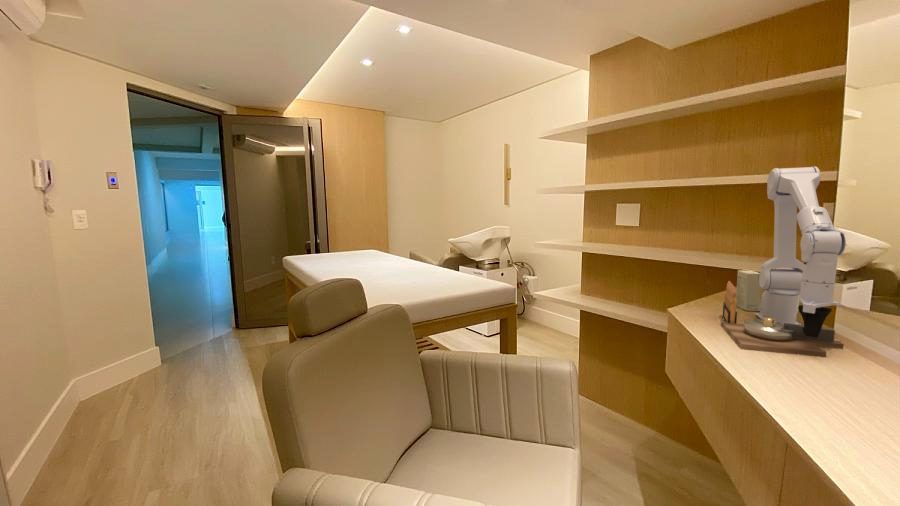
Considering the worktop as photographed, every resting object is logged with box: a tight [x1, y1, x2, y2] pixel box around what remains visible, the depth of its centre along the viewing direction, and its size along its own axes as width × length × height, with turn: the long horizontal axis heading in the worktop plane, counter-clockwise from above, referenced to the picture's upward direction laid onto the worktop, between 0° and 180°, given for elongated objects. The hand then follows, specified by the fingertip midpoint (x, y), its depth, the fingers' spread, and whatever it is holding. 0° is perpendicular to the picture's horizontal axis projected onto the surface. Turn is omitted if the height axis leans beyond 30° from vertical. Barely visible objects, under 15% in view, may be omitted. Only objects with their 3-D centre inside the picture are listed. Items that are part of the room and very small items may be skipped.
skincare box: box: [736, 269, 762, 312], centre depth 123 cm, size 6×4×12 cm
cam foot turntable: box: [743, 317, 836, 343], centre depth 96 cm, size 17×10×4 cm, turn 56°
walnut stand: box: [720, 321, 845, 358], centre depth 97 cm, size 18×22×1 cm
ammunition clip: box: [722, 280, 738, 324], centre depth 111 cm, size 11×2×12 cm, turn 152°
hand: (811, 336), depth 92 cm, fingers closed, pressing on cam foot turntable
